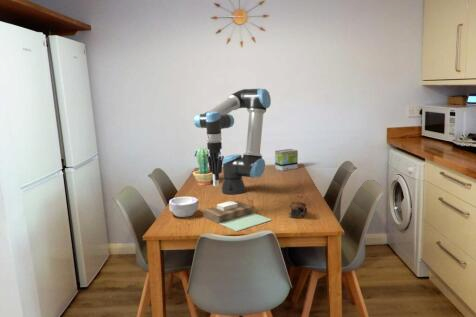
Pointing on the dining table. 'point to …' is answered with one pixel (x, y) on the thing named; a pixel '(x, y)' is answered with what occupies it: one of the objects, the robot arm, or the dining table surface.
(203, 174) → the potted cactus
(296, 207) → the pottery mug
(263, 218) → the mat
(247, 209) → the board
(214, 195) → the dining table surface
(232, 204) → the white flat block
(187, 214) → the white round bowl
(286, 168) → the tea box
